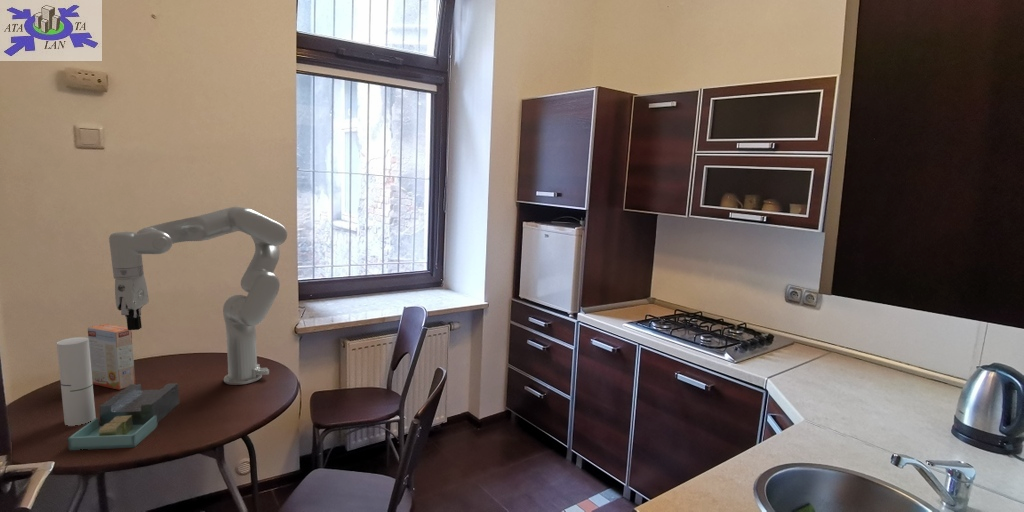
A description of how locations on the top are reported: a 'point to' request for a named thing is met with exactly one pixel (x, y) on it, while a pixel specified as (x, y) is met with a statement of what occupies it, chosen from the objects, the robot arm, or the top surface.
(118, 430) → the yellow cube
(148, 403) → the tray
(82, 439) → the tray
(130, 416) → the yellow wedge block
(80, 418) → the cylindrical container
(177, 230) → the robot arm
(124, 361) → the cracker box
